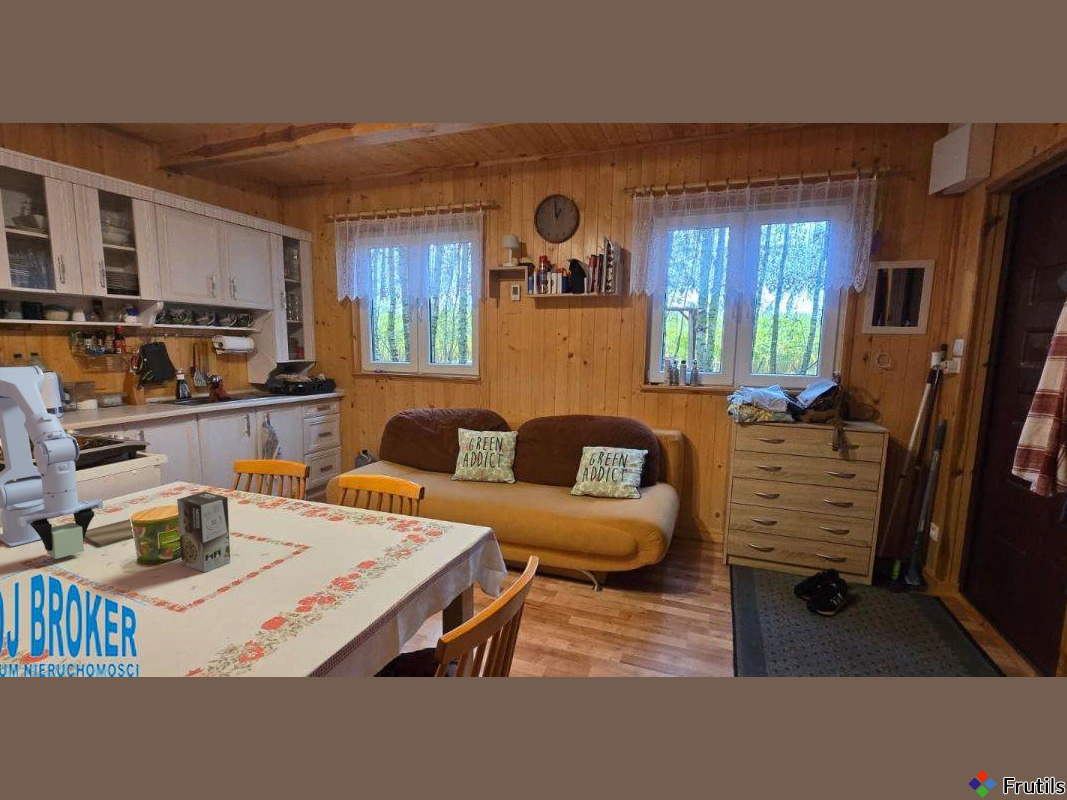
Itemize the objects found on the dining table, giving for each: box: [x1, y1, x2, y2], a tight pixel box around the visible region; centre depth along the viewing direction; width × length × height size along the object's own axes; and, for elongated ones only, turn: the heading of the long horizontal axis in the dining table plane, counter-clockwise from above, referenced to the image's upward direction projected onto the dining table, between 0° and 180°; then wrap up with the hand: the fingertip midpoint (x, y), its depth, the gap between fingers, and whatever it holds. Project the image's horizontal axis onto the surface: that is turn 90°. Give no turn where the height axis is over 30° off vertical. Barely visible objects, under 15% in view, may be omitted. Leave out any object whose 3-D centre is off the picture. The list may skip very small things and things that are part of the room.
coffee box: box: [176, 491, 231, 573], centre depth 113 cm, size 9×6×16 cm
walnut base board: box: [84, 518, 134, 548], centre depth 128 cm, size 13×13×1 cm
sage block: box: [46, 522, 85, 560], centre depth 113 cm, size 5×5×6 cm
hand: (65, 545), depth 114 cm, fingers closed on sage block, 5 cm apart
